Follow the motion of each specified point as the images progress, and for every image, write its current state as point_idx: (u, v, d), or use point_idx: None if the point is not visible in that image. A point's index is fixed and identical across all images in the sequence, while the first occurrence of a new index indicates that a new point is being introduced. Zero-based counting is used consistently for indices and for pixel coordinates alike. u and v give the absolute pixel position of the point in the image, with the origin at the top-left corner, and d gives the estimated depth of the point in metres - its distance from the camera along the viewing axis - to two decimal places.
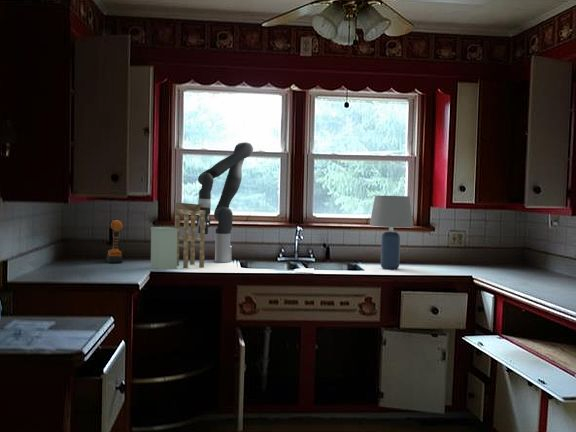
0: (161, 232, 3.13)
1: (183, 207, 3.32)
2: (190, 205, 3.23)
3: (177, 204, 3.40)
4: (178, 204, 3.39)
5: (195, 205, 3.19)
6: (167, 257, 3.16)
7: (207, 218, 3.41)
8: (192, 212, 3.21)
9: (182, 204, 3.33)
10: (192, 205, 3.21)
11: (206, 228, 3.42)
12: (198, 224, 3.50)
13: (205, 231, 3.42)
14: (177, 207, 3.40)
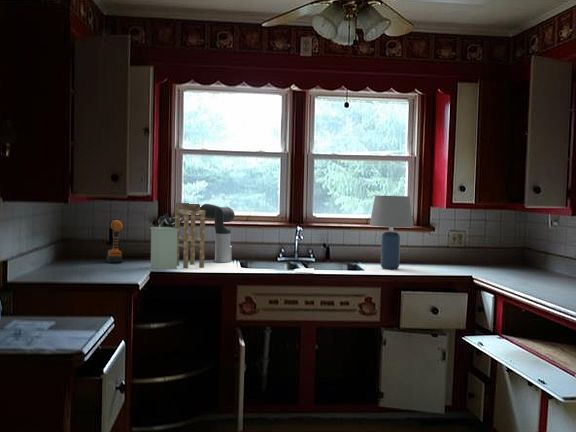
0: (161, 232, 3.13)
1: (183, 207, 3.32)
2: (190, 205, 3.23)
3: (177, 204, 3.40)
4: (178, 204, 3.39)
5: (195, 205, 3.19)
6: (167, 257, 3.16)
7: None
8: (192, 212, 3.21)
9: (182, 204, 3.33)
10: (192, 205, 3.21)
11: None
12: None
13: None
14: (177, 207, 3.40)
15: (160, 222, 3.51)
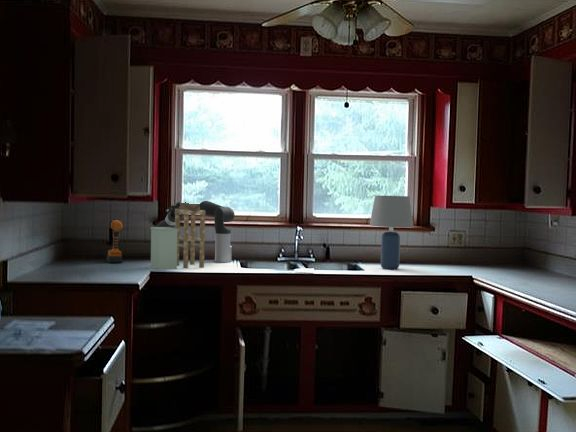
0: (161, 232, 3.13)
1: (183, 207, 3.32)
2: (190, 205, 3.23)
3: None
4: None
5: (195, 205, 3.19)
6: (167, 257, 3.16)
7: None
8: (192, 212, 3.21)
9: (182, 204, 3.33)
10: (192, 205, 3.21)
11: None
12: None
13: None
14: None
15: (169, 211, 3.41)
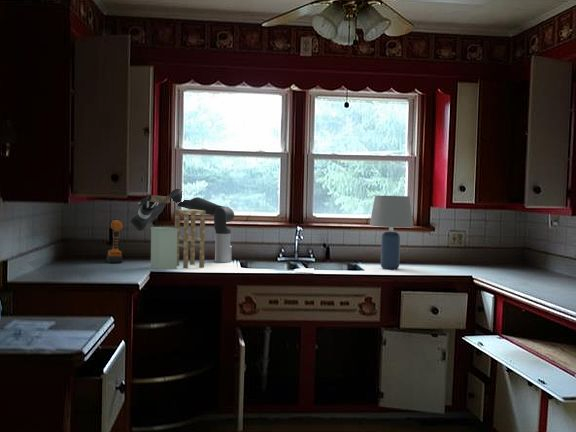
0: (161, 232, 3.13)
1: (154, 199, 3.28)
2: (160, 197, 3.19)
3: None
4: None
5: (165, 197, 3.15)
6: (167, 257, 3.16)
7: None
8: (192, 212, 3.21)
9: (153, 197, 3.29)
10: (162, 197, 3.16)
11: None
12: None
13: None
14: None
15: (141, 204, 3.36)
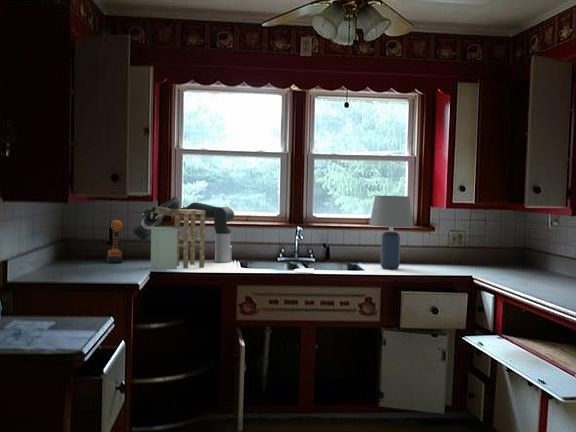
0: (161, 232, 3.13)
1: (158, 211, 3.23)
2: (165, 210, 3.14)
3: None
4: None
5: (170, 210, 3.10)
6: (167, 257, 3.16)
7: None
8: (192, 212, 3.21)
9: (157, 208, 3.24)
10: (167, 210, 3.12)
11: None
12: None
13: None
14: None
15: (145, 215, 3.31)
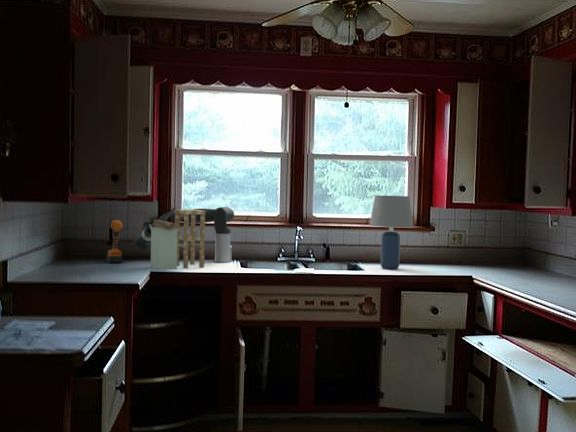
0: (161, 232, 3.13)
1: (158, 225, 3.23)
2: (165, 223, 3.14)
3: (153, 222, 3.31)
4: (154, 221, 3.30)
5: (170, 224, 3.10)
6: (167, 257, 3.16)
7: None
8: (192, 212, 3.21)
9: (157, 222, 3.24)
10: (167, 224, 3.12)
11: None
12: None
13: None
14: (153, 225, 3.31)
15: (144, 227, 3.32)
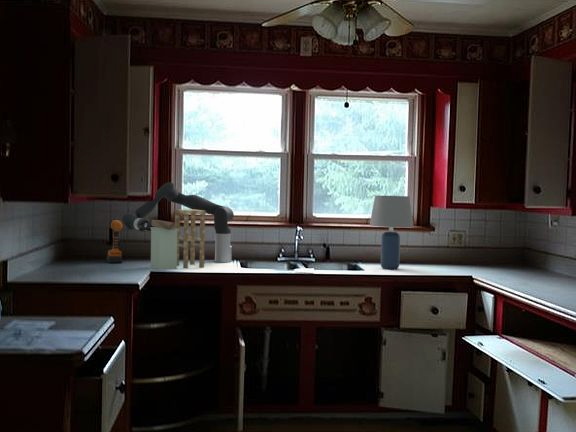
0: (161, 232, 3.13)
1: (158, 225, 3.23)
2: (165, 223, 3.14)
3: (153, 222, 3.31)
4: (154, 221, 3.30)
5: (170, 224, 3.10)
6: (167, 257, 3.16)
7: None
8: (192, 212, 3.21)
9: (157, 222, 3.24)
10: (167, 224, 3.12)
11: None
12: (145, 226, 3.37)
13: None
14: (153, 225, 3.31)
15: (140, 230, 3.39)
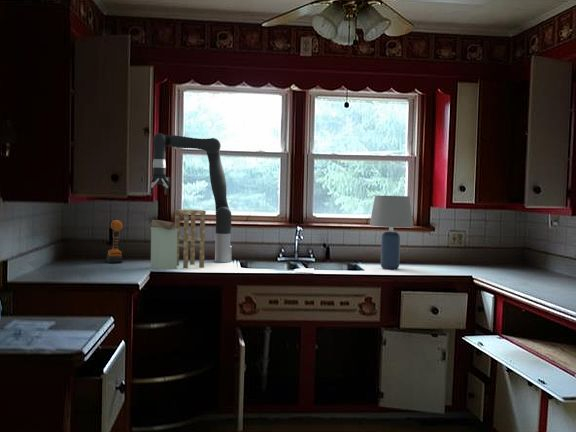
0: (161, 232, 3.13)
1: (158, 225, 3.23)
2: (165, 223, 3.14)
3: (153, 222, 3.31)
4: (154, 221, 3.30)
5: (170, 224, 3.10)
6: (167, 257, 3.16)
7: None
8: (192, 212, 3.21)
9: (157, 222, 3.24)
10: (167, 224, 3.12)
11: (167, 188, 3.49)
12: (152, 185, 3.43)
13: (167, 191, 3.48)
14: (153, 225, 3.31)
15: None
